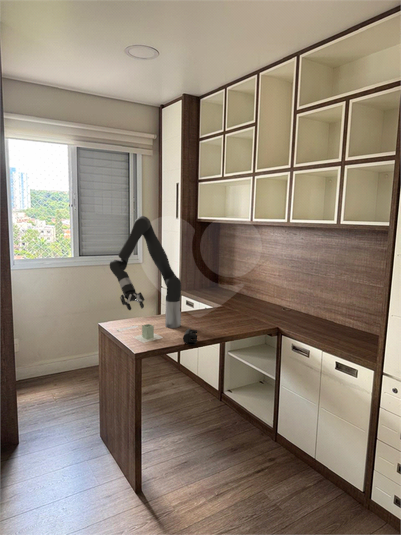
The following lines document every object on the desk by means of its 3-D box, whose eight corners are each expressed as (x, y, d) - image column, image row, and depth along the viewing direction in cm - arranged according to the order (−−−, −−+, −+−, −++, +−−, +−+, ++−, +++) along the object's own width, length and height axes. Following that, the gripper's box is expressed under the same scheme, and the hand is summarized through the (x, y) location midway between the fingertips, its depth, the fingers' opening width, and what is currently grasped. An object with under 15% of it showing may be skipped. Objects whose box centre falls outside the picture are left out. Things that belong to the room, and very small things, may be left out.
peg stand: (152, 334, 220) (152, 322, 219) (163, 340, 211) (163, 327, 210) (131, 339, 210) (131, 327, 209) (143, 345, 202) (143, 332, 200)
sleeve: (149, 335, 214) (149, 323, 213) (153, 337, 210) (153, 325, 209) (142, 337, 211) (142, 325, 210) (146, 339, 207) (146, 327, 206)
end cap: (185, 339, 214) (185, 327, 213) (197, 339, 213) (197, 328, 212) (182, 344, 204) (182, 333, 203) (195, 345, 203) (195, 334, 202)
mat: (136, 326, 235) (136, 325, 235) (148, 331, 225) (148, 330, 225) (116, 330, 226) (116, 329, 226) (128, 336, 216) (128, 335, 215)
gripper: (118, 284, 217) (128, 307, 210) (139, 282, 226) (149, 303, 219) (114, 291, 221) (123, 313, 215) (134, 289, 231) (144, 310, 224)
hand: (136, 308), depth 217 cm, fingers open, 8 cm apart
